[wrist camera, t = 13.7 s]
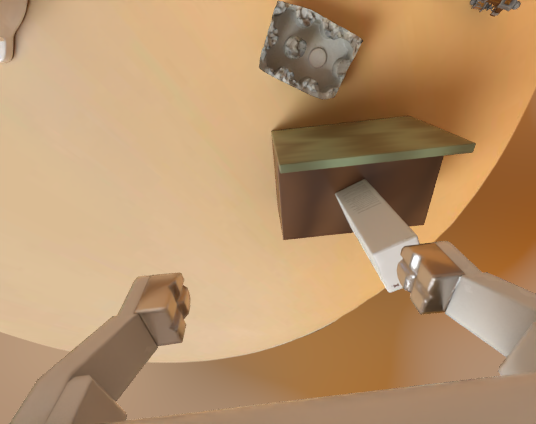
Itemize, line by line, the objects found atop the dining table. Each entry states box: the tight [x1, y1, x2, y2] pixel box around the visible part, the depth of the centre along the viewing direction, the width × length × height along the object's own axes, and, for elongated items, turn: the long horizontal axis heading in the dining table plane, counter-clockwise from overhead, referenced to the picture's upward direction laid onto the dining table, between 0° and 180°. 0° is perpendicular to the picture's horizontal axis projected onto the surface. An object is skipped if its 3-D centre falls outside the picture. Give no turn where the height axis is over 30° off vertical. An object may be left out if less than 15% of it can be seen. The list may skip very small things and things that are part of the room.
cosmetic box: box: [335, 179, 420, 292], centre depth 29 cm, size 6×4×12 cm
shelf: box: [271, 116, 476, 240], centre depth 35 cm, size 20×13×13 cm, turn 95°
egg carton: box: [259, 1, 363, 99], centre depth 30 cm, size 11×8×4 cm
